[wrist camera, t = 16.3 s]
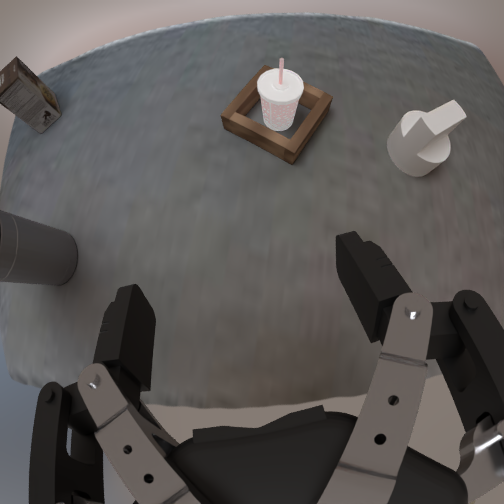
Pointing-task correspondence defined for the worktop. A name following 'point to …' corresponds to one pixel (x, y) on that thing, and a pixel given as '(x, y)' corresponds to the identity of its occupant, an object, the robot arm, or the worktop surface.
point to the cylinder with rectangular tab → (423, 138)
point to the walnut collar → (267, 137)
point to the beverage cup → (279, 96)
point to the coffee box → (28, 96)
